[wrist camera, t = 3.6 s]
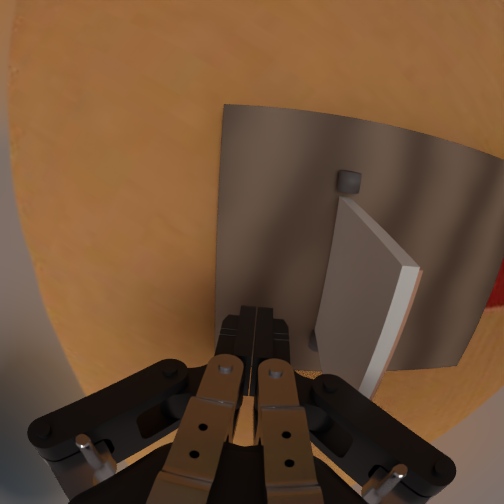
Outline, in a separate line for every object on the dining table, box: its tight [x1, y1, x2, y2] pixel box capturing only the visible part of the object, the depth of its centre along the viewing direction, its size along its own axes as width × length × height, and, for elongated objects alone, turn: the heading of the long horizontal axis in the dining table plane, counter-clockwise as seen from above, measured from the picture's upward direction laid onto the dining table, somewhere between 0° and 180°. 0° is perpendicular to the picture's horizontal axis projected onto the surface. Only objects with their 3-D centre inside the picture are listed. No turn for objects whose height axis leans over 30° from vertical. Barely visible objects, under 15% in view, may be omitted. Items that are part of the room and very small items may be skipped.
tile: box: [315, 196, 423, 401], centre depth 16 cm, size 10×10×1 cm
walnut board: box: [215, 104, 504, 371], centre depth 21 cm, size 24×20×3 cm
